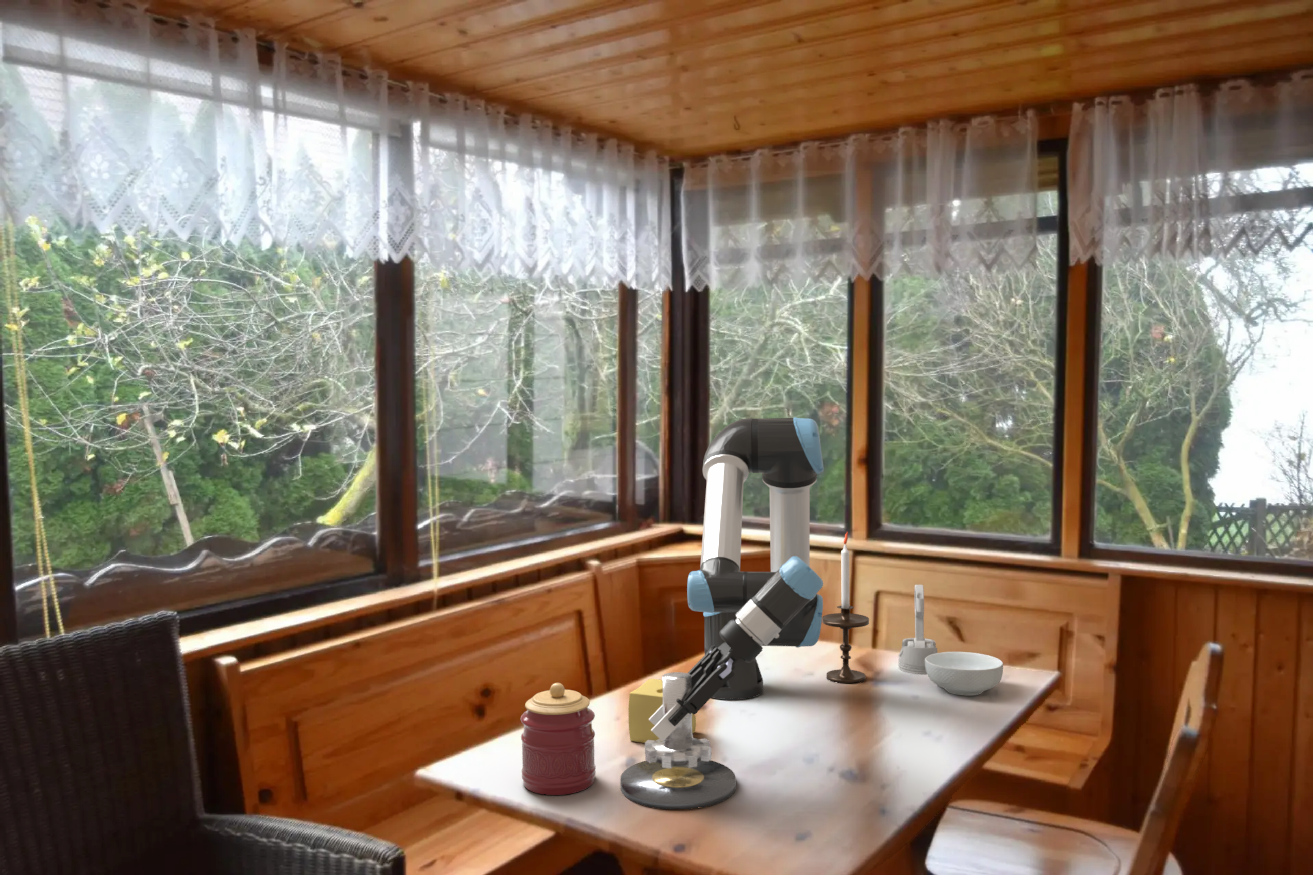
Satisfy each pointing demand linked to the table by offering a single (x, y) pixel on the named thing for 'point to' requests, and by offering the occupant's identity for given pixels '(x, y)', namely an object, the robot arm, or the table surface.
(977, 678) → the cereal bowl
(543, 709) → the canister
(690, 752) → the sun gear
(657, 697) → the cheese
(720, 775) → the carrier plate
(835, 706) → the table surface
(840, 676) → the candlestick
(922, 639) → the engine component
